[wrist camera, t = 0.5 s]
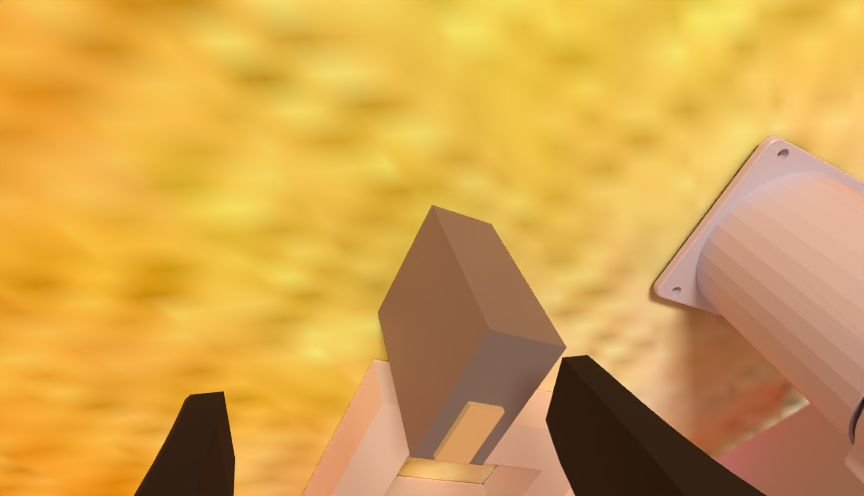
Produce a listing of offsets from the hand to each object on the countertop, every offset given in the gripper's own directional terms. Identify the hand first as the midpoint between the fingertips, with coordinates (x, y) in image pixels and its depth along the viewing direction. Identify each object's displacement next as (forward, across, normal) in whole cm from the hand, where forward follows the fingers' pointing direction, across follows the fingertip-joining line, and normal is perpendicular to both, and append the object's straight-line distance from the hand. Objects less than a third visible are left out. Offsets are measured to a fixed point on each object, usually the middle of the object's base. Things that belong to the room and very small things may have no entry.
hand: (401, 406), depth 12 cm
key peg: (+10, -3, +3) cm, 10 cm away
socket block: (+10, -5, +14) cm, 18 cm away
